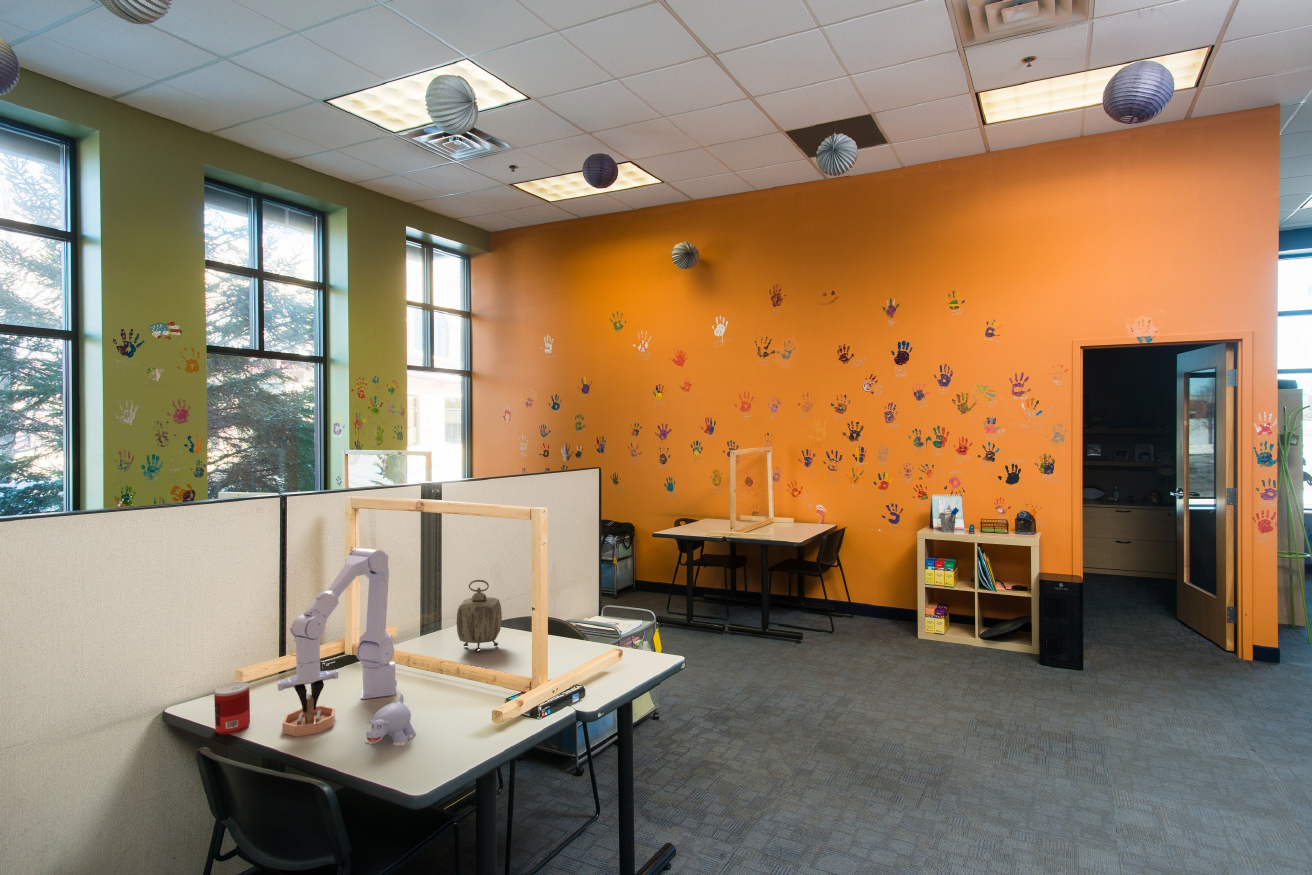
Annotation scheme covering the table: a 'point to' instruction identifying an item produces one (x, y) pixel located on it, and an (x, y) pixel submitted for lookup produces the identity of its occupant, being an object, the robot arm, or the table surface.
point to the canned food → (232, 708)
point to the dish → (299, 727)
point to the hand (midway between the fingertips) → (309, 710)
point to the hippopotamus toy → (391, 724)
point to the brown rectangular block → (309, 709)
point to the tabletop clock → (479, 618)
